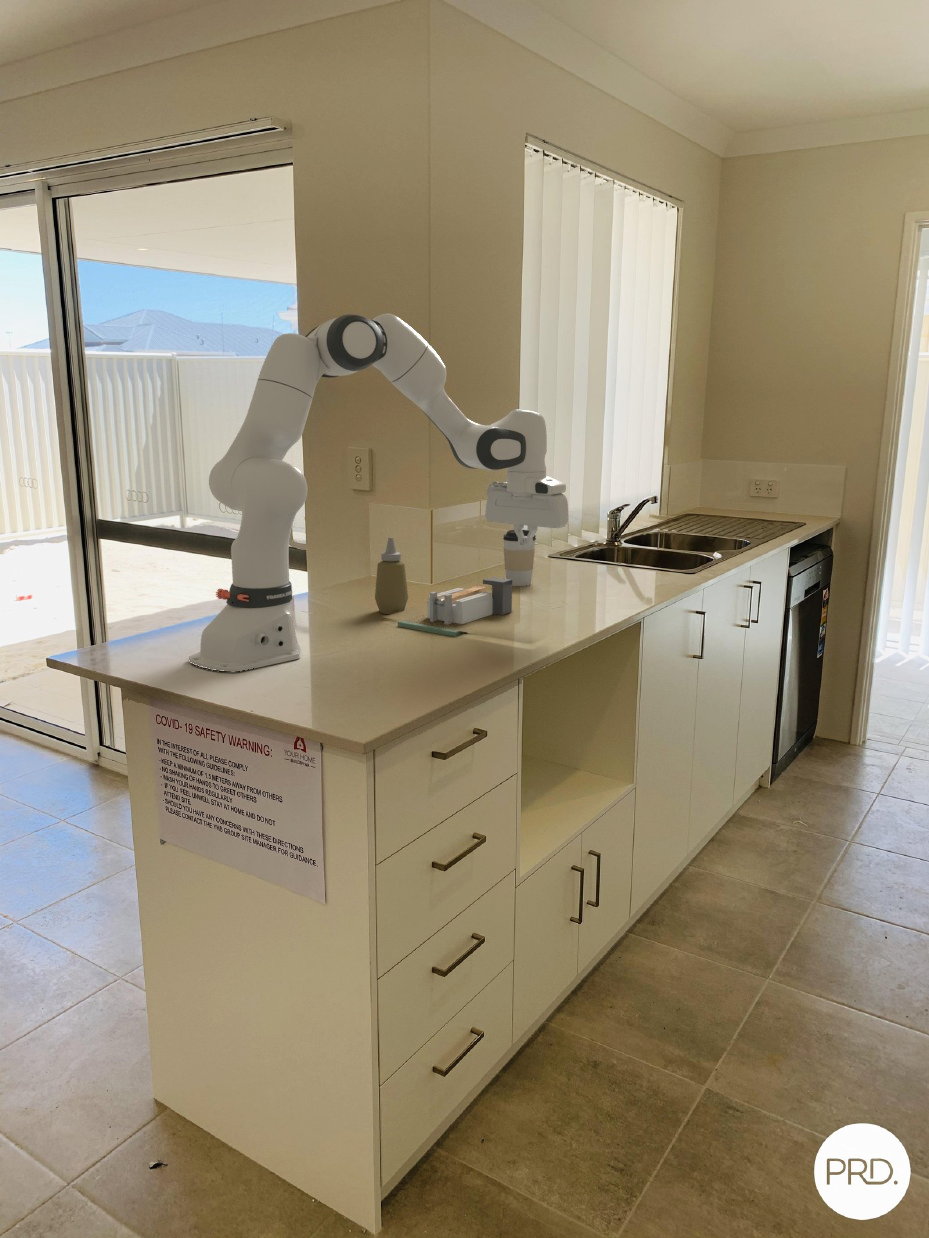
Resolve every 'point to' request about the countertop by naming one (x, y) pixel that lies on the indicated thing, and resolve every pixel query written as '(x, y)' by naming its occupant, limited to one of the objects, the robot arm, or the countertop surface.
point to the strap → (462, 594)
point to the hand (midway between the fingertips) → (525, 544)
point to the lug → (500, 595)
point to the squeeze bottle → (391, 581)
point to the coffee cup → (518, 559)
